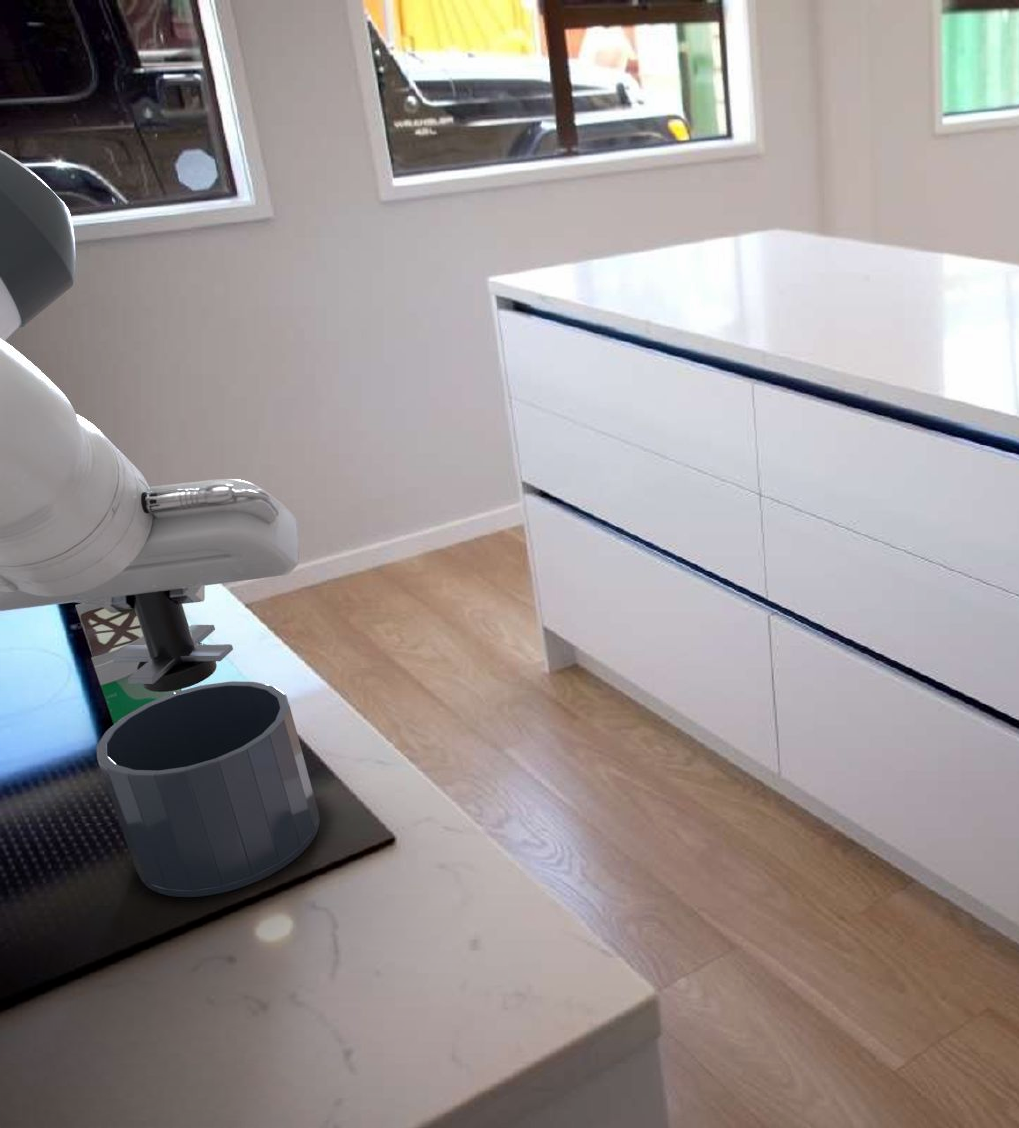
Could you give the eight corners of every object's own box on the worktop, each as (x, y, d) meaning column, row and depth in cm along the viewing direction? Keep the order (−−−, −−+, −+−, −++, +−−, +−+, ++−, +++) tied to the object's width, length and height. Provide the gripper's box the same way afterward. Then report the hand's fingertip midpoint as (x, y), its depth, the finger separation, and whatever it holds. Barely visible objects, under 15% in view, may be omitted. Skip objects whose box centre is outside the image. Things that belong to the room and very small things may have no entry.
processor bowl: (99, 873, 86) (56, 754, 82) (239, 781, 96) (205, 669, 92) (222, 915, 82) (182, 790, 78) (355, 813, 91) (326, 698, 87)
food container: (218, 748, 100) (183, 635, 96) (131, 776, 97) (92, 661, 93) (190, 686, 109) (158, 581, 105) (110, 710, 106) (74, 602, 102)
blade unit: (93, 704, 80) (42, 558, 76) (159, 648, 86) (115, 511, 82) (202, 703, 79) (157, 556, 75) (260, 647, 86) (221, 509, 82)
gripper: (258, 434, 71) (328, 529, 84) (-148, 478, 68) (-11, 570, 81) (260, 538, 69) (331, 620, 82) (-159, 589, 66) (-16, 666, 79)
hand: (159, 596), depth 81 cm, fingers closed on blade unit, 2 cm apart
